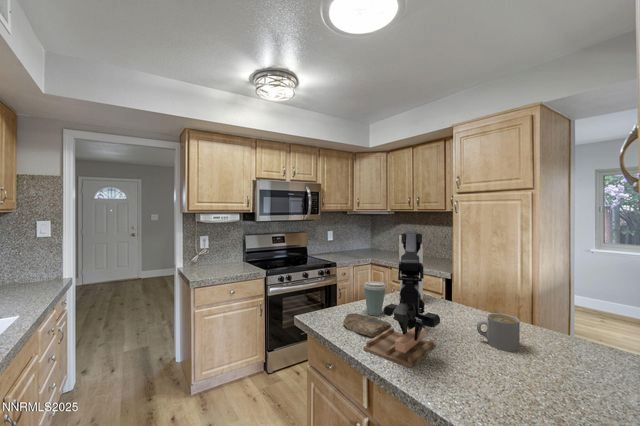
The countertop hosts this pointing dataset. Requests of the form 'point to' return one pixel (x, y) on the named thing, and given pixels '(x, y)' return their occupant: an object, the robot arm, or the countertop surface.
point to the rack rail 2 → (420, 351)
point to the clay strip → (408, 340)
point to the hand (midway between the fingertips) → (410, 338)
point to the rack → (397, 356)
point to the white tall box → (420, 254)
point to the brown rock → (365, 324)
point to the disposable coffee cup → (374, 297)
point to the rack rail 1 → (379, 337)
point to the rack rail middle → (390, 349)
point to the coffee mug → (501, 331)
